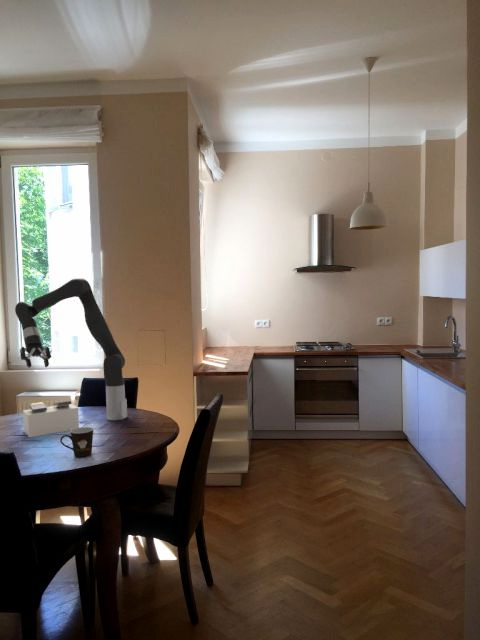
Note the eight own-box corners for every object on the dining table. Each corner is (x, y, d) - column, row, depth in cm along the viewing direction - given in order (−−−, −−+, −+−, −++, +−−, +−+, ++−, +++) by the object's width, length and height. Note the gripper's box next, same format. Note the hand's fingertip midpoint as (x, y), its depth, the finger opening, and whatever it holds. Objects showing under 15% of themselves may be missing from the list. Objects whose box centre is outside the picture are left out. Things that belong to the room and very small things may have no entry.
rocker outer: (42, 404, 224) (42, 401, 224) (46, 410, 218) (46, 407, 217) (29, 406, 221) (29, 403, 220) (32, 412, 214) (32, 409, 214)
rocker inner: (67, 403, 230) (66, 400, 230) (71, 404, 224) (71, 400, 224) (54, 405, 227) (53, 402, 227) (58, 406, 220) (57, 402, 220)
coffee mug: (97, 451, 189) (96, 427, 189) (89, 459, 181) (87, 433, 180) (70, 451, 190) (69, 427, 190) (59, 458, 182) (58, 433, 181)
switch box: (71, 423, 234) (71, 401, 233) (78, 428, 224) (77, 406, 224) (23, 431, 221) (22, 408, 221) (29, 437, 212) (27, 413, 211)
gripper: (21, 333, 230) (27, 363, 225) (48, 334, 241) (55, 363, 235) (14, 341, 235) (20, 370, 229) (42, 341, 245) (48, 369, 240)
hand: (38, 366), depth 232 cm, fingers open, 8 cm apart
